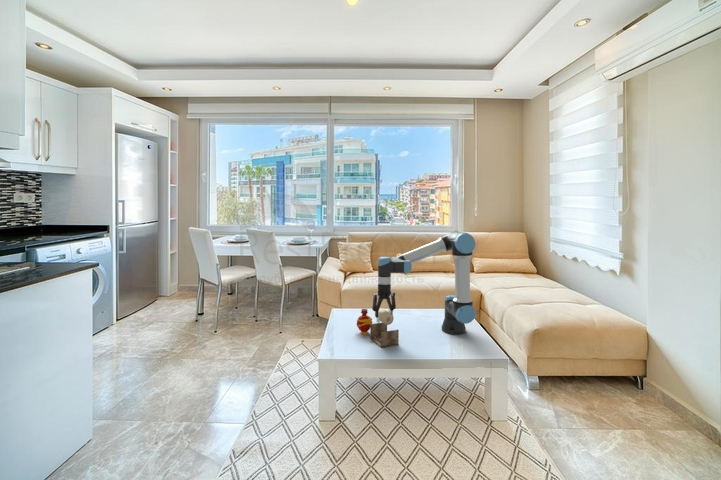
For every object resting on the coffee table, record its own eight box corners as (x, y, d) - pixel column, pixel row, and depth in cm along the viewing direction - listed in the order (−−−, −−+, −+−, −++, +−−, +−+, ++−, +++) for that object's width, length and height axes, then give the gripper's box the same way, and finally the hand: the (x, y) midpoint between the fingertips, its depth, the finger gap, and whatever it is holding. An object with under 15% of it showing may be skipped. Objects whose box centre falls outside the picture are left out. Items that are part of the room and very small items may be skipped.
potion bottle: (358, 336, 214) (358, 312, 213) (355, 330, 225) (355, 307, 223) (374, 335, 216) (374, 311, 215) (370, 329, 227) (370, 307, 225)
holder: (386, 335, 215) (386, 321, 214) (398, 345, 201) (398, 329, 200) (370, 338, 211) (370, 324, 210) (381, 347, 197) (381, 332, 196)
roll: (384, 318, 211) (385, 307, 211) (393, 324, 201) (394, 313, 200) (374, 319, 209) (375, 307, 208) (382, 325, 198) (383, 313, 198)
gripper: (396, 280, 210) (395, 317, 212) (366, 283, 202) (366, 321, 204) (402, 283, 203) (401, 321, 205) (371, 286, 195) (371, 325, 197)
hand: (383, 321), depth 205 cm, fingers closed on roll, 7 cm apart
